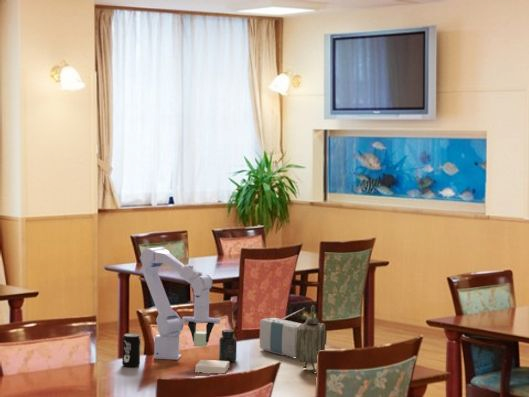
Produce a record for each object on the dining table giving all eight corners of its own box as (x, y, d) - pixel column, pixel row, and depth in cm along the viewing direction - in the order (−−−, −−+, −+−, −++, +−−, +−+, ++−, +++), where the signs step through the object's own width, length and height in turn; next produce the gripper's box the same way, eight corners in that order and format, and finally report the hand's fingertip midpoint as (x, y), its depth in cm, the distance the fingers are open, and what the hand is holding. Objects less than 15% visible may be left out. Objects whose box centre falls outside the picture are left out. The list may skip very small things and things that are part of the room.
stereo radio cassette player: (258, 350, 439) (259, 302, 437) (273, 348, 444) (274, 300, 443) (293, 359, 423) (295, 309, 422) (308, 357, 429) (309, 308, 427)
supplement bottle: (237, 359, 420) (238, 329, 419) (235, 363, 413) (235, 332, 413) (220, 358, 421) (220, 328, 420) (217, 362, 414) (218, 331, 413)
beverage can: (118, 366, 402) (119, 335, 401) (128, 363, 408) (129, 332, 407) (133, 368, 399) (134, 337, 398) (143, 365, 405) (143, 334, 404)
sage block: (193, 346, 409) (194, 333, 409) (195, 343, 414) (196, 331, 413) (205, 346, 409) (205, 333, 408) (207, 344, 413) (207, 331, 413)
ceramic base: (195, 373, 396) (195, 365, 396) (200, 367, 407) (200, 359, 407) (224, 375, 395) (224, 367, 394) (229, 368, 406) (229, 361, 405)
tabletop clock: (318, 375, 397) (320, 308, 396) (294, 373, 399) (296, 307, 398) (324, 367, 412) (326, 302, 410) (301, 365, 413) (303, 301, 412)
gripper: (181, 307, 407) (180, 342, 408) (218, 309, 405) (217, 344, 406) (184, 304, 414) (183, 339, 415) (221, 306, 412) (220, 340, 413)
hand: (200, 341), depth 411 cm, fingers closed on sage block, 4 cm apart
